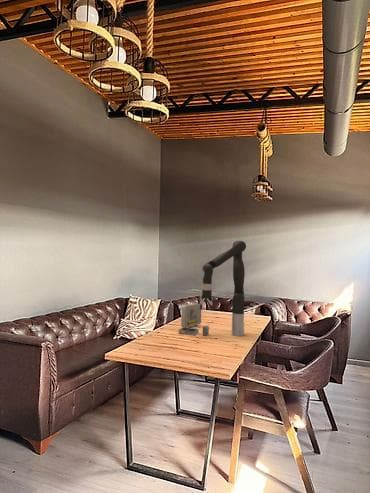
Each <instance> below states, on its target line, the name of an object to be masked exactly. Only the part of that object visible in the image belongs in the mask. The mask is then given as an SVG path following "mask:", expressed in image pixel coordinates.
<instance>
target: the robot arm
mask: <svg viewBox="0 0 370 493" xmlns="http://www.w3.org/2000/svg"><path fill="white" fill-rule="evenodd" d="M246 249H247V244H246V242H245V241H243V240H236V241H234V242H233V243H232V247H230V248H229V249H228V250H227V251H224V252H222V253H221V254H218V255H217V256H216V257H215V258H213V259H212V260H209V261H208V262H206V263H205V264H204V265H202V268H201V269H202V271H203V273H204V275H203V277H202V286H201V289H202V290H201V295H198V296H197V303H198V304H200V309H201V311H202V310H203V303H208V304H210V311H213V310H214V306H216V302H217V301H216V297H215V296H214V297H213V296H212V295H213V294H212V293H213V292H212V290H213V282H212V281H213V280H212V279H213V278H212V277H213V273H214V269H215V268H217V267H219V266H221V265H223V264H224V263H225V262H227V261H229V260H230V259H231V258H233V260H232V266H233V267H232V278H233V285H234V291H233V296H232V307H231V309H232V313H231V314H232V316H231V317H232V318H231V335H232V336H235V337H236V336H237V337H243V336H244V335H245V319H244V318H245V301H246V299H245V292H244V291H245V290H244V286H245V270H246V269H245V265H244V261H243V252H244V251H245V250H246Z"/></svg>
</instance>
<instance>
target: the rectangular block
mask: <svg viewBox="0 0 370 493" xmlns="http://www.w3.org/2000/svg"><path fill="white" fill-rule="evenodd" d="M209 328H210V326H209V325H203V326H202V335H201V336H203V337H207V336H210V334H209V331H210V329H209Z"/></svg>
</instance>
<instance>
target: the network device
mask: <svg viewBox="0 0 370 493" xmlns="http://www.w3.org/2000/svg"><path fill="white" fill-rule="evenodd" d="M180 311H181V314H180V315H181V318H180V319H181V320H180V327H181V328H191V329H199V328H201V325H200V324H201V323H202V310H201V309H200V304H198V302H194V303H188V304H183V305H181V310H180Z"/></svg>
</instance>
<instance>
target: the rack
mask: <svg viewBox="0 0 370 493" xmlns="http://www.w3.org/2000/svg"><path fill="white" fill-rule="evenodd" d="M178 334H179V335H186V336H187V335H188V336H196V335H198V334H199V328H196V329H192V328H183V327H181V328H180V329H178Z"/></svg>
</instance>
